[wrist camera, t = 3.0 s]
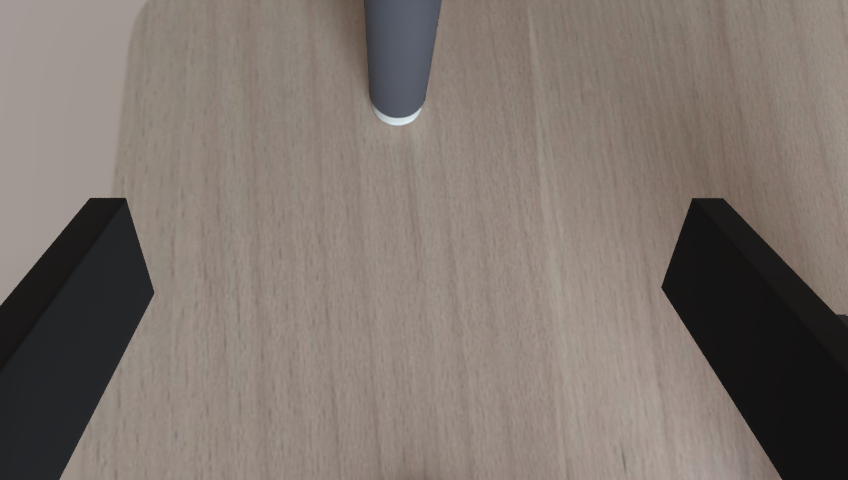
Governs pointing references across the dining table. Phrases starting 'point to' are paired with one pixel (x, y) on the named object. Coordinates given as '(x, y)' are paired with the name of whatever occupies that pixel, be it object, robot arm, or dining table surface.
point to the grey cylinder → (399, 55)
